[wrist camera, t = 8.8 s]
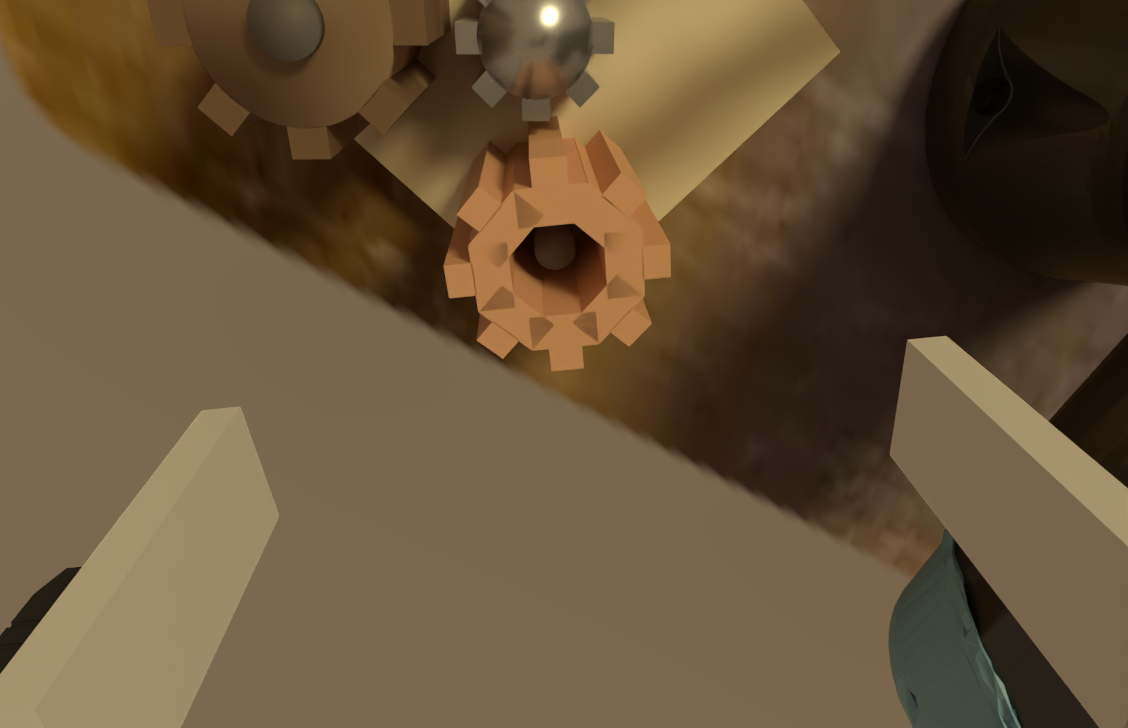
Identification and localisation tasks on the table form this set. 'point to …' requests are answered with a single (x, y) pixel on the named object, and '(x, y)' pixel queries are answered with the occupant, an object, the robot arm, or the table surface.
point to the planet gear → (603, 247)
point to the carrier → (618, 100)
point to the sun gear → (534, 51)
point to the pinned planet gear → (307, 62)
